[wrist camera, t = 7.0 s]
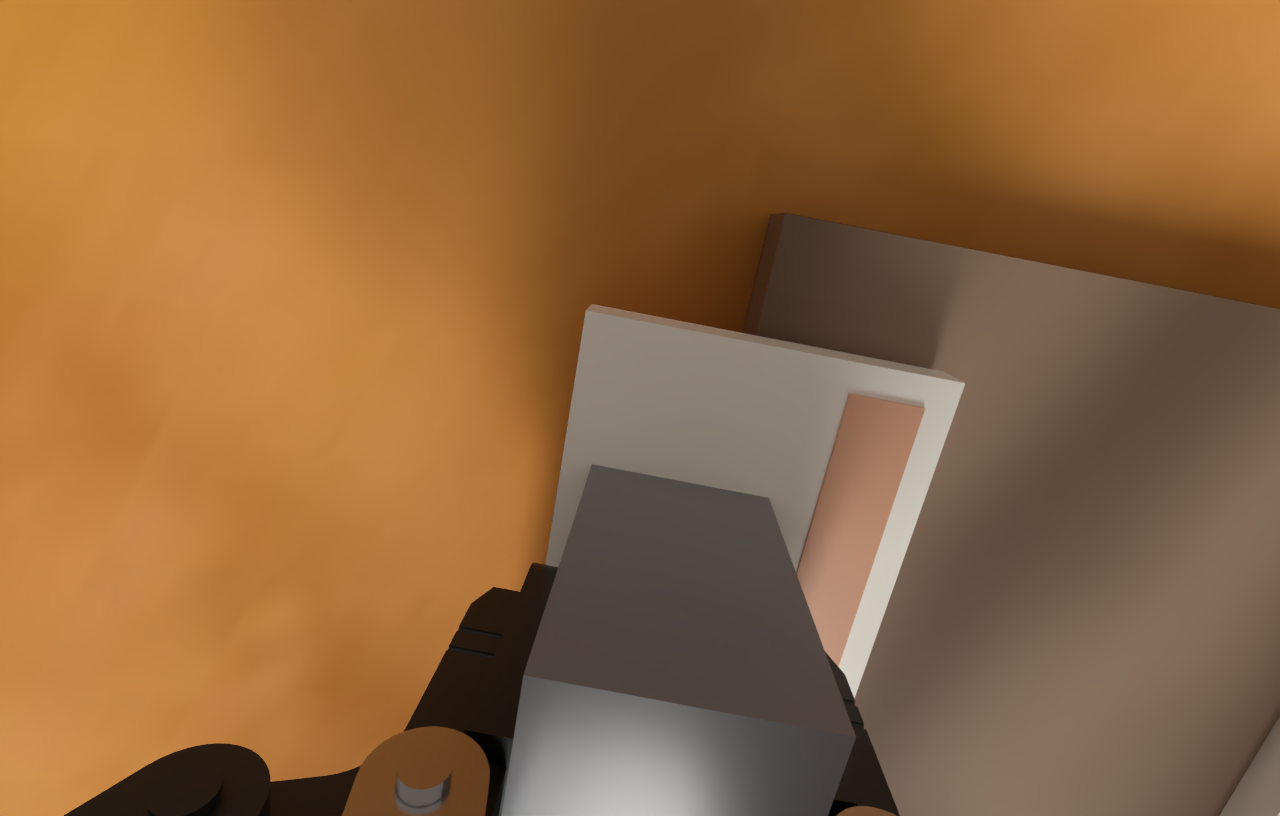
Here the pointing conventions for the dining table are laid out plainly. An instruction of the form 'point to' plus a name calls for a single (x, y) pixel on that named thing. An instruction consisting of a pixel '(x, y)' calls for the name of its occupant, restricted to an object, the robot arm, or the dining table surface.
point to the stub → (717, 569)
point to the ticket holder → (1064, 529)
